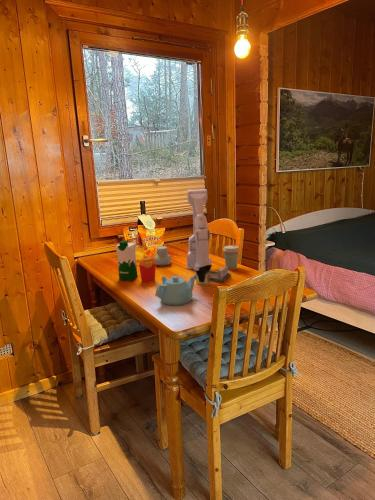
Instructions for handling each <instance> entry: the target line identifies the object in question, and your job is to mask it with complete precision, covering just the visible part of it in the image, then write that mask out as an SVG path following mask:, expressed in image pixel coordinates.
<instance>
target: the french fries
mask: <svg viewBox="0 0 375 500" xmlns="http://www.w3.org/2000/svg"><path fill="white" fill-rule="evenodd" d="M138 261H139V264H138V267H139V268H138V269H139V273H140V278H141V279H140V280H141V282H142V283H145V284H146V283H151V282H155V281H156V266H157V264H156V263H155V262H156V258H155V256H146V257H143V258H140V259H138Z"/></svg>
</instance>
